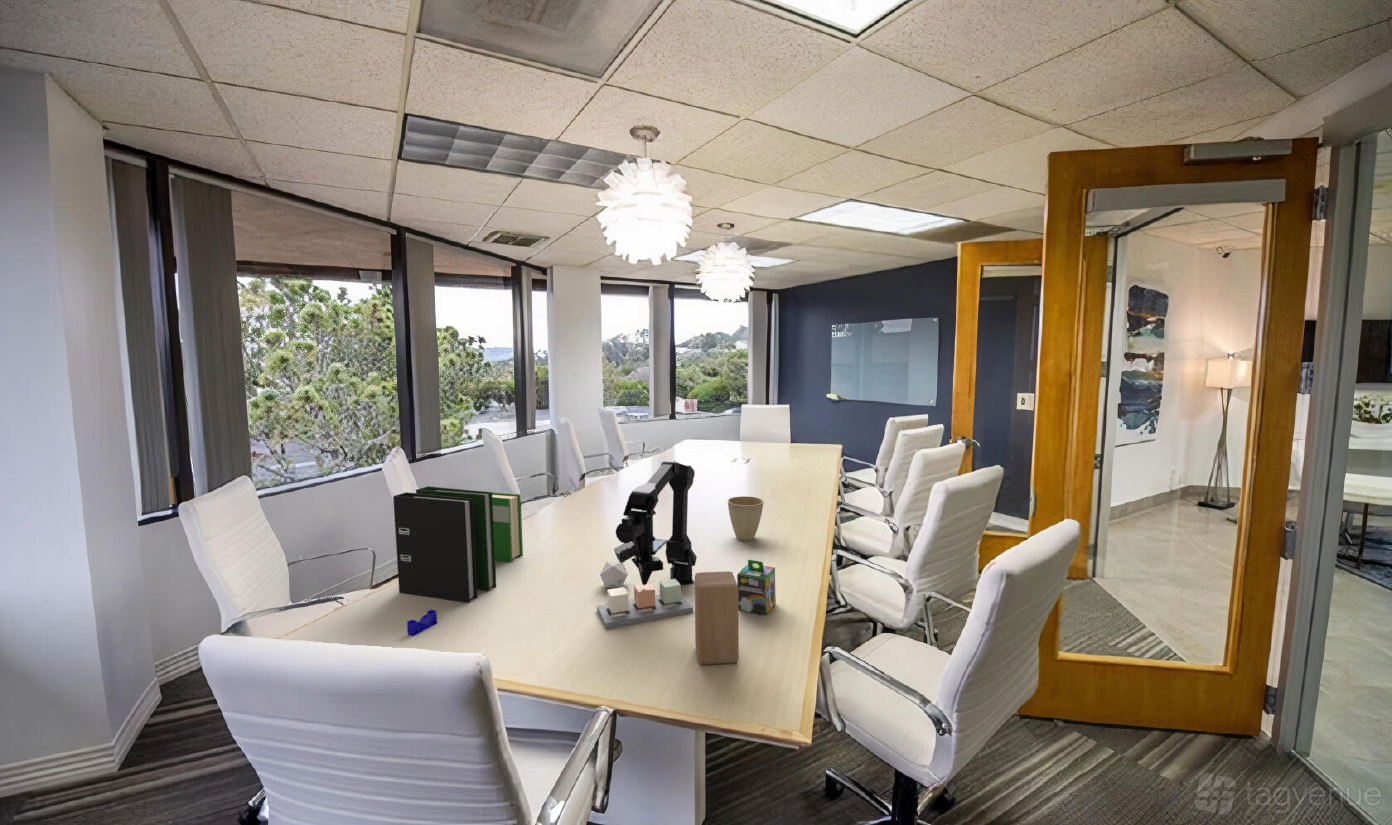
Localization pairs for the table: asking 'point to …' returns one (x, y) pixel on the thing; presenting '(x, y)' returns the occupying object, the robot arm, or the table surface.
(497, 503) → the hardback book
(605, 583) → the die
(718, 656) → the block
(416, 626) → the cable holder
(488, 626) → the table surface
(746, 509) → the plant pot
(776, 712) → the table surface
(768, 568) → the chalk box
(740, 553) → the table surface
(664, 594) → the plunger sage
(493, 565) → the ring binders
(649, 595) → the salmon pink cube
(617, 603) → the plunger cream
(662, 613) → the grey slotted board
